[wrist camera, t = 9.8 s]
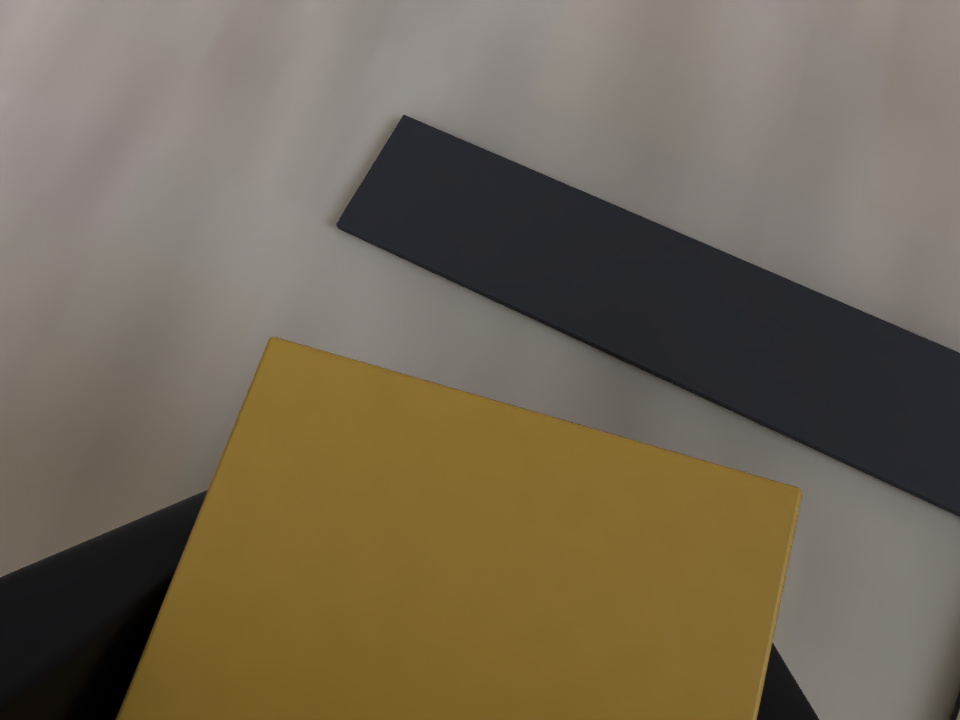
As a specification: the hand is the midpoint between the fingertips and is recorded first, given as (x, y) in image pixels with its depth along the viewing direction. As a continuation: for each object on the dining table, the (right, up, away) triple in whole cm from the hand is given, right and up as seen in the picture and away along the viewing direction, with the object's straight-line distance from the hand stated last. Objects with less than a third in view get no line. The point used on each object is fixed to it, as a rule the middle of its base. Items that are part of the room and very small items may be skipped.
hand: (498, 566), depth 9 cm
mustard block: (0, -3, +6) cm, 7 cm away
